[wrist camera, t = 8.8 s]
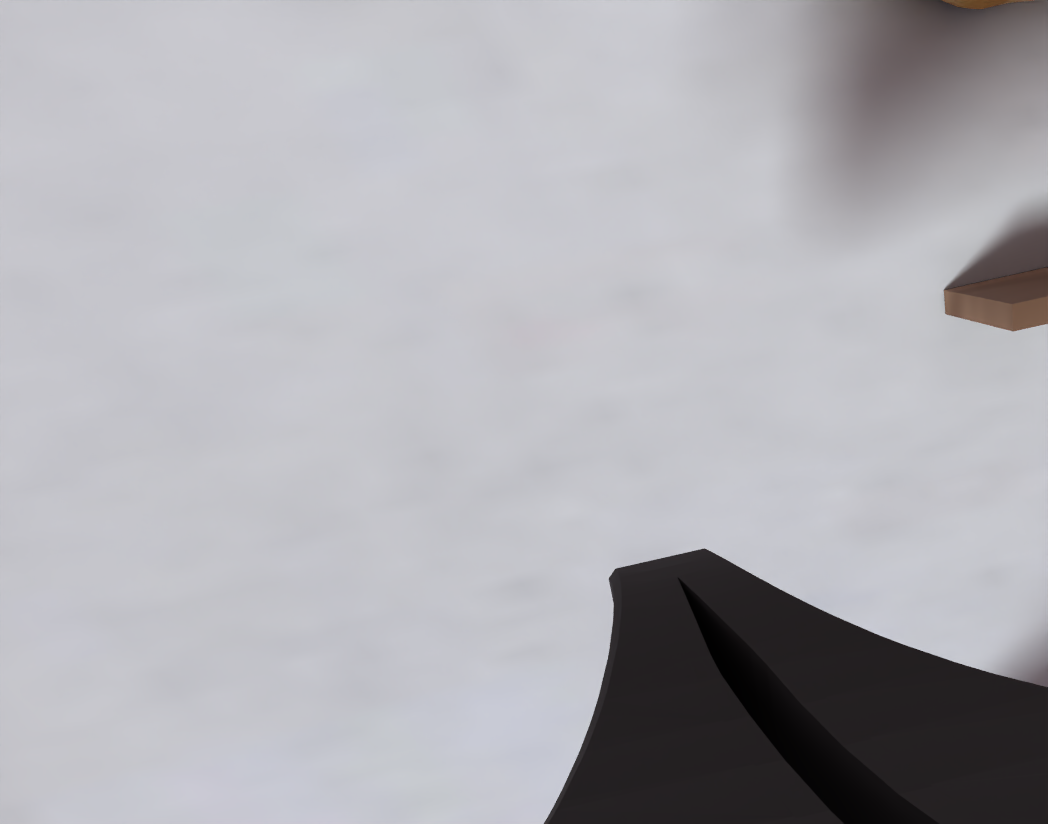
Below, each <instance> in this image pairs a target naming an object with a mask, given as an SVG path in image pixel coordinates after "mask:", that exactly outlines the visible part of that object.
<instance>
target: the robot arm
mask: <svg viewBox="0 0 1048 824" xmlns="http://www.w3.org/2000/svg"><path fill="white" fill-rule="evenodd" d="M609 582H610V587H611V592H612V597H613V602H614V616H613V627H612V634H611V642H610V650H609V655H608V660H607V665H606V669H605V673H604V677H603V681H602V685H601V690H600V694H599V697H598V701H597V704H596V707H595V711H594V714H593V717H592V720H591V723H590V726H589V728H588V731H587V734H586V736H585V739H584V742H583V744H582V747H581V749H580V752H579V754H578V757H577V759H576V761H575V763H574V765H573V767H572V770H571V772H570V774H569V776H568V778H567V781H566V783H565V785H564V787H563V789H562V791H561V793H560V795H559V797H558V799H557V801H556V803H555V805H554V807H553V809H552V811H551V812H550V814H549V816H548V818H547V819H546V821H545V823H544V824H1048V688H1047V687H1044V686H1040V685H1036V684H1032V683H1028V682H1024V681H1020V680H1016V679H1012V678H1008V677H1004V676H1000V675H996V674H993V673H989V672H986V671H982V670H979V669H976V668H972V667H969V666H965V665H962V664H959V663H956V662H953V661H950V660H947V659H944V658H941V657H938V656H935V655H932V654H929V653H926V652H923V651H920V650H917V649H914V648H912V647H909V646H906V645H903V644H900V643H898V642H895V641H892V640H890V639H887V638H885V637H882V636H879V635H877V634H874V633H872V632H870V631H867V630H865V629H863V628H861V627H858V626H856V625H854V624H851V623H849V622H847V621H844V620H842V619H840V618H837V617H835V616H833V615H831V614H829V613H827V612H824V611H822V610H820V609H818V608H816V607H814V606H812V605H810V604H808V603H806V602H804V601H802V600H800V599H798V598H796V597H794V596H792V595H790V594H788V593H786V592H784V591H782V590H780V589H778V588H776V587H775V586H773V585H771V584H769V583H767V582H765V581H763V580H762V579H760V578H758V577H756V576H754V575H752V574H751V573H749V572H747V571H745V570H743V569H742V568H740V567H738V566H736V565H734V564H733V563H731V562H729V561H727V560H726V559H724V558H722V557H720V556H718V555H716V554H715V553H713V552H711V551H709V550H707V549H701V550H696V551H692V552H687V553H683V554H679V555H674V556H670V557H665V558H661V559H657V560H652V561H648V562H643V563H639V564H635V565H630V566H626V567H621V568H617V569H615V570H614V572H613V573H612V575H611V576H610V577H609Z"/></svg>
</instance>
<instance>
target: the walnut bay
mask: <svg viewBox="0 0 1048 824" xmlns="http://www.w3.org/2000/svg"><path fill="white" fill-rule="evenodd" d="M944 297H945V314H947V315H951V316H955V317H959V318H963V319H967V320H971V321H975V322H979V323H983V324H986V325H990V326H994V327H998V328H1002V329H1006V330H1010V331H1017V330H1021V329H1026V328H1030V327H1035V326H1039V325H1044V324H1048V267H1046V268H1041V269H1037V270H1032V271H1028V272H1023V273H1019V274H1014V275H1010V276H1005V277H1001V278H996V279H992V280H987V281H983V282H978V283H974V284H969V285H965V286H960V287H956V288H951V289H947V290H944Z"/></svg>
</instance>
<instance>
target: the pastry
mask: <svg viewBox="0 0 1048 824" xmlns="http://www.w3.org/2000/svg"><path fill="white" fill-rule="evenodd" d="M942 1H944V2H947V3H949V4H952V5H954V6H957V7H962V8H970V9H984V8H988V7H992V6H997V5H1001V4H1005V3H1012V2H1023V1H1033V0H942Z"/></svg>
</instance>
